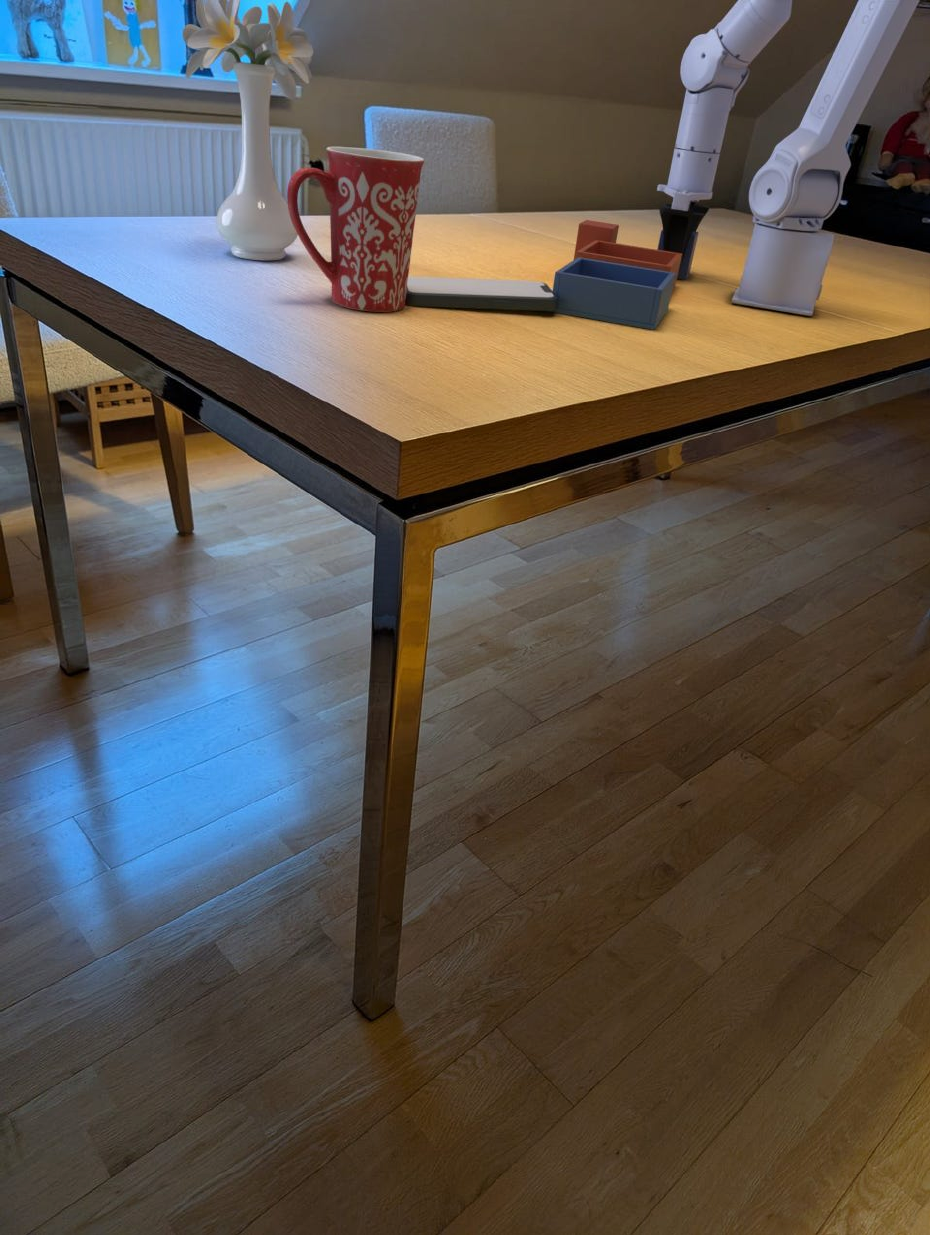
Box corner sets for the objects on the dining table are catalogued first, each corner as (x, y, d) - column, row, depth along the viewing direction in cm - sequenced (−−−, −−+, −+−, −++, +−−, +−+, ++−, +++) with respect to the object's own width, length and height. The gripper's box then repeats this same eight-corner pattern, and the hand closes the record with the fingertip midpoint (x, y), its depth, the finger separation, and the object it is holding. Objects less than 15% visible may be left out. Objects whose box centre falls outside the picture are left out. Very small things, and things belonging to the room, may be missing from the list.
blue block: (689, 275, 121) (698, 232, 118) (685, 280, 117) (695, 235, 114) (656, 269, 122) (665, 226, 119) (652, 274, 118) (661, 230, 115)
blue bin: (668, 310, 100) (675, 273, 98) (654, 330, 91) (662, 289, 89) (572, 293, 102) (578, 257, 100) (549, 311, 93) (555, 271, 91)
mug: (400, 293, 93) (408, 150, 86) (425, 315, 86) (436, 161, 79) (280, 290, 89) (278, 140, 82) (296, 313, 82) (296, 150, 75)
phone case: (404, 309, 89) (559, 314, 91) (404, 293, 88) (560, 298, 90) (400, 290, 96) (543, 295, 98) (400, 275, 96) (545, 280, 98)
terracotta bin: (675, 286, 112) (682, 253, 110) (663, 302, 103) (671, 266, 101) (589, 272, 115) (595, 239, 113) (571, 286, 106) (576, 251, 104)
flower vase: (317, 245, 112) (319, 8, 99) (306, 275, 96) (307, -2, 83) (212, 236, 110) (200, -7, 97) (183, 264, 95) (165, -20, 82)
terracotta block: (611, 268, 119) (619, 224, 116) (605, 273, 115) (613, 228, 113) (579, 263, 120) (586, 219, 117) (572, 268, 116) (579, 223, 114)
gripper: (672, 145, 119) (651, 252, 126) (658, 148, 107) (635, 266, 114) (725, 151, 117) (701, 259, 124) (716, 156, 105) (690, 275, 112)
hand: (673, 263), depth 119 cm, fingers open, 5 cm apart
